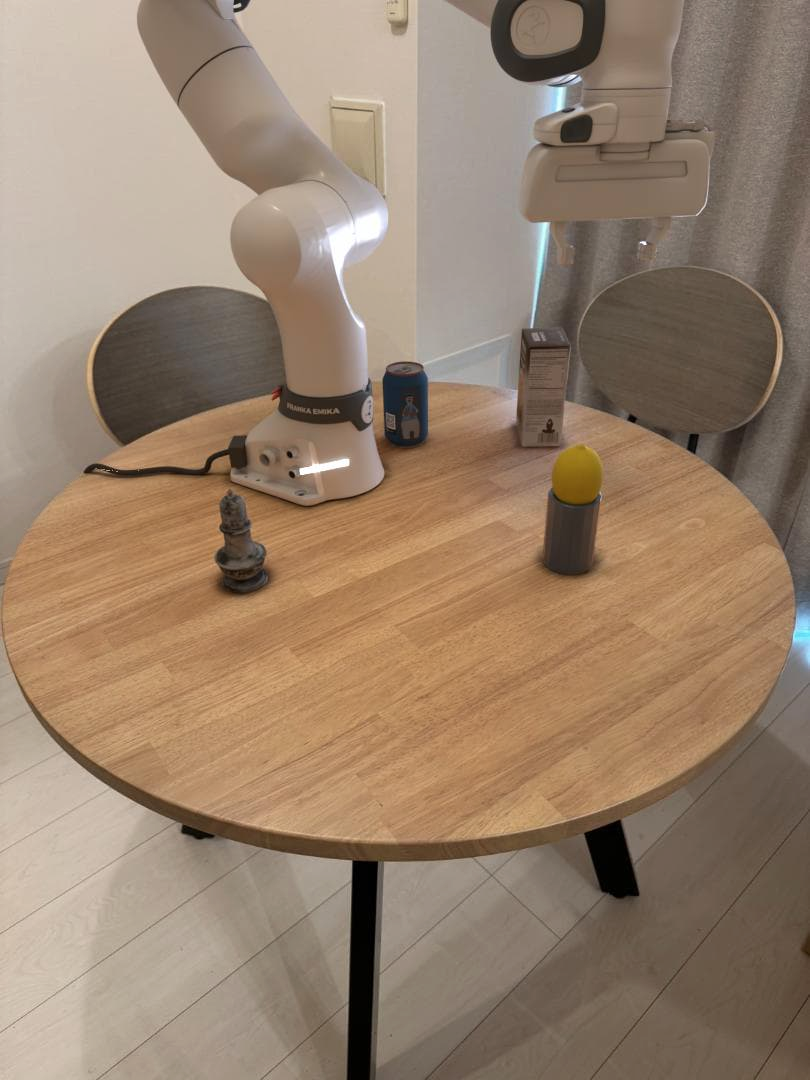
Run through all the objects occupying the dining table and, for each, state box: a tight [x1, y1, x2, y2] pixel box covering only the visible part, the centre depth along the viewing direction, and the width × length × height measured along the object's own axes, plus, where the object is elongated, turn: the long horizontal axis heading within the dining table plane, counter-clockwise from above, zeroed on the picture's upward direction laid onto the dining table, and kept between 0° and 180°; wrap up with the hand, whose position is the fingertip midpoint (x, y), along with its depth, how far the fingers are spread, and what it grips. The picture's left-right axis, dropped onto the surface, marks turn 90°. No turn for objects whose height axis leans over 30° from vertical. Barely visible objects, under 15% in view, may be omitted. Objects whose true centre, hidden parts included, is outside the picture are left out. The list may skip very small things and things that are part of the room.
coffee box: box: [515, 326, 572, 448], centre depth 114 cm, size 9×6×16 cm
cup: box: [542, 486, 603, 576], centre depth 85 cm, size 6×6×9 cm
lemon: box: [551, 443, 604, 505], centre depth 81 cm, size 6×6×8 cm
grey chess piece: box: [213, 488, 269, 594], centre depth 82 cm, size 6×6×12 cm
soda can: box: [382, 361, 429, 449], centre depth 114 cm, size 7×7×12 cm
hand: (605, 261), depth 84 cm, fingers open, 8 cm apart
